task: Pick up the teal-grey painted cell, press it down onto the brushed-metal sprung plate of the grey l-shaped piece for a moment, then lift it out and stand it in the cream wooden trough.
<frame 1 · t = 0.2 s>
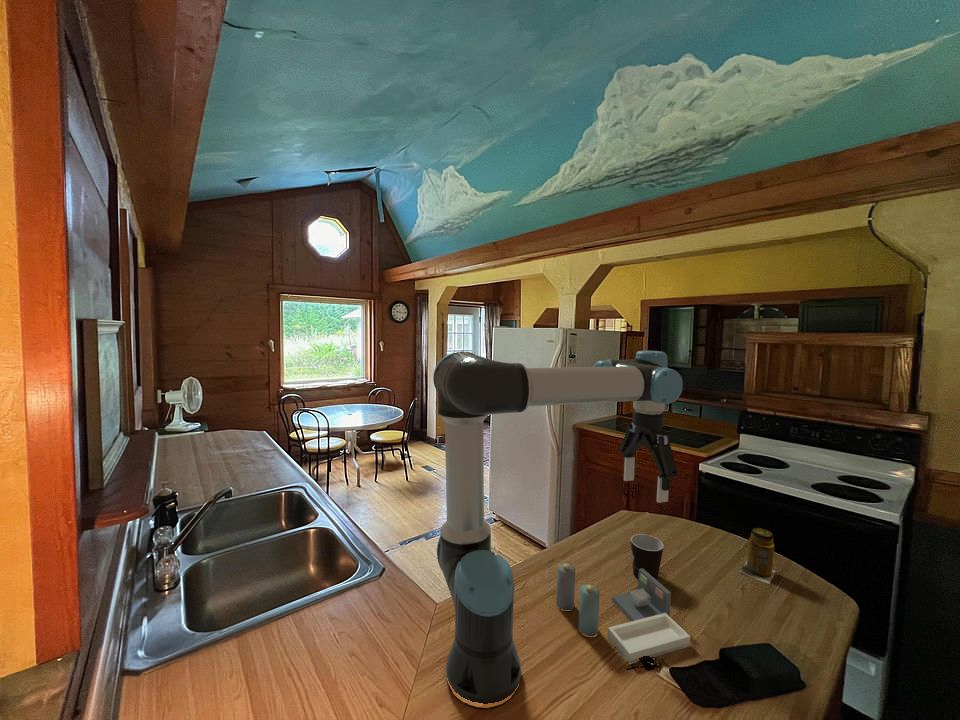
hand: (644, 490, 108), 27 cm above the counter, fingers open, 13 cm apart
cell 2: (565, 605, 104), on the counter
grey l-shaped piece: (639, 610, 103), on the counter
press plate: (640, 597, 102), point 3 cm above the counter, slide at 0.0 cm
coffee mug: (646, 573, 118), on the counter
condiment: (757, 573, 118), on the counter
trough: (648, 642, 93), on the counter
cell 1: (588, 630, 96), on the counter
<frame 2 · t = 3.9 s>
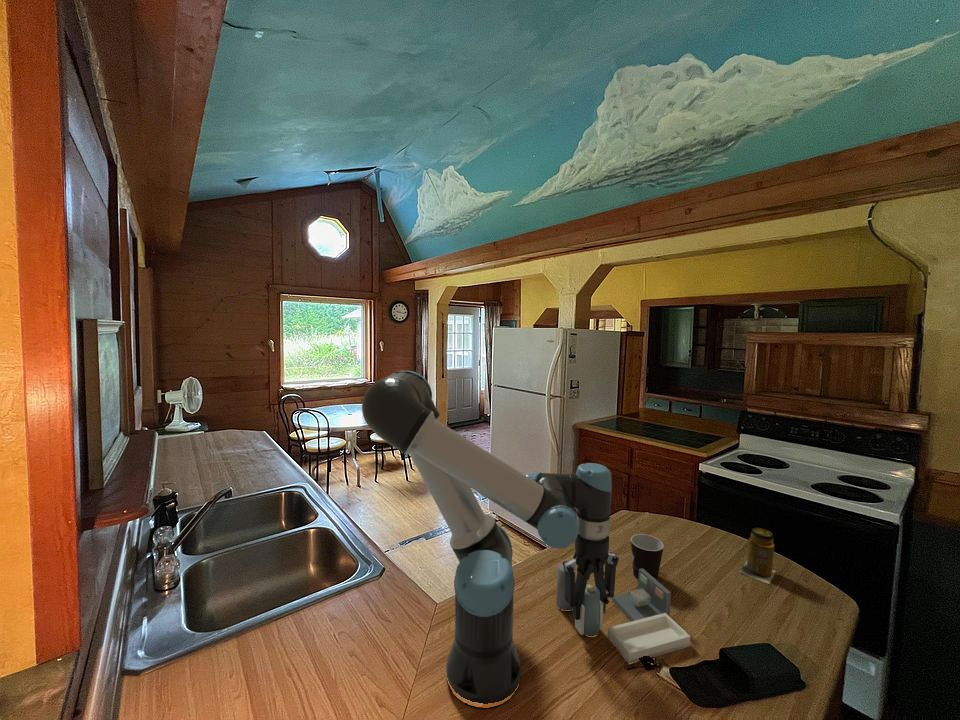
hand: (588, 627, 96), 1 cm above the counter, fingers closed on cell 1, 4 cm apart
cell 1: (588, 630, 96), on the counter, touching gripper
everything else where it was.
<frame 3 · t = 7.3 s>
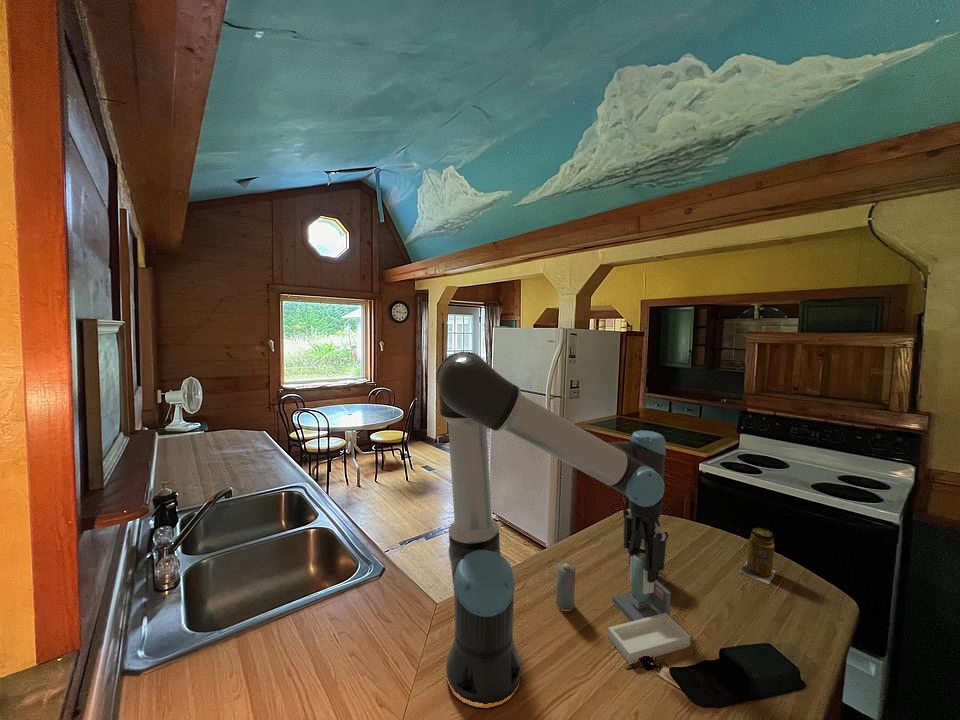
hand: (641, 585, 102), 7 cm above the counter, fingers closed on cell 1, 4 cm apart
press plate: (640, 599, 102), point 3 cm above the counter, slide at 0.6 cm
cell 1: (640, 595, 102), point 4 cm above the counter, touching gripper
everything else where it was.
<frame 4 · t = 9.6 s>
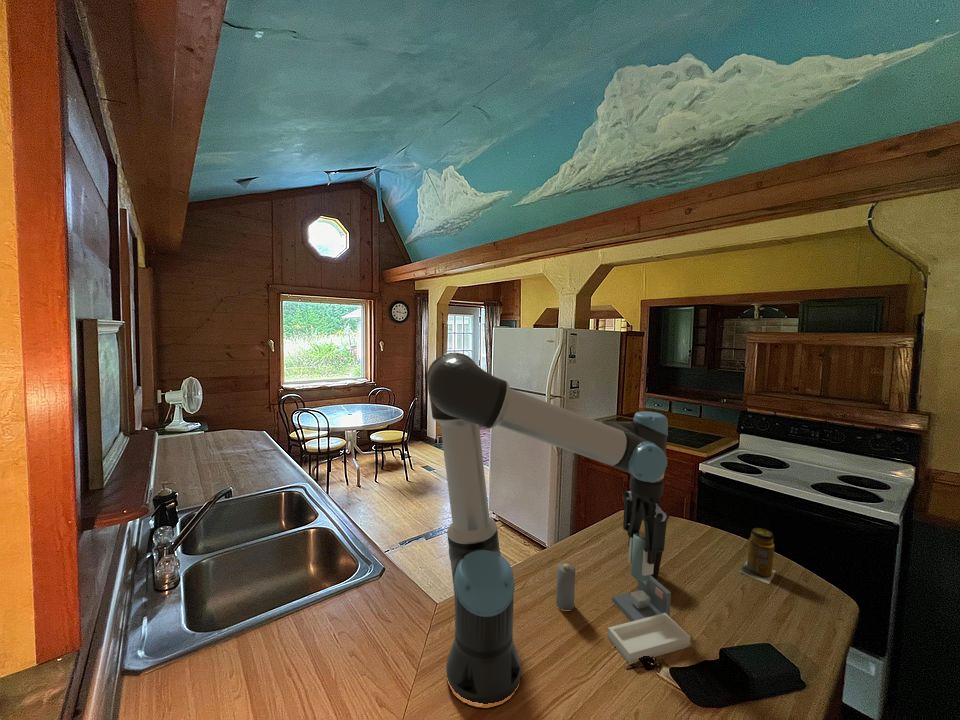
hand: (640, 567, 101), 11 cm above the counter, fingers closed on cell 1, 4 cm apart
cell 1: (640, 575, 102), point 9 cm above the counter, touching gripper
everything else where it was.
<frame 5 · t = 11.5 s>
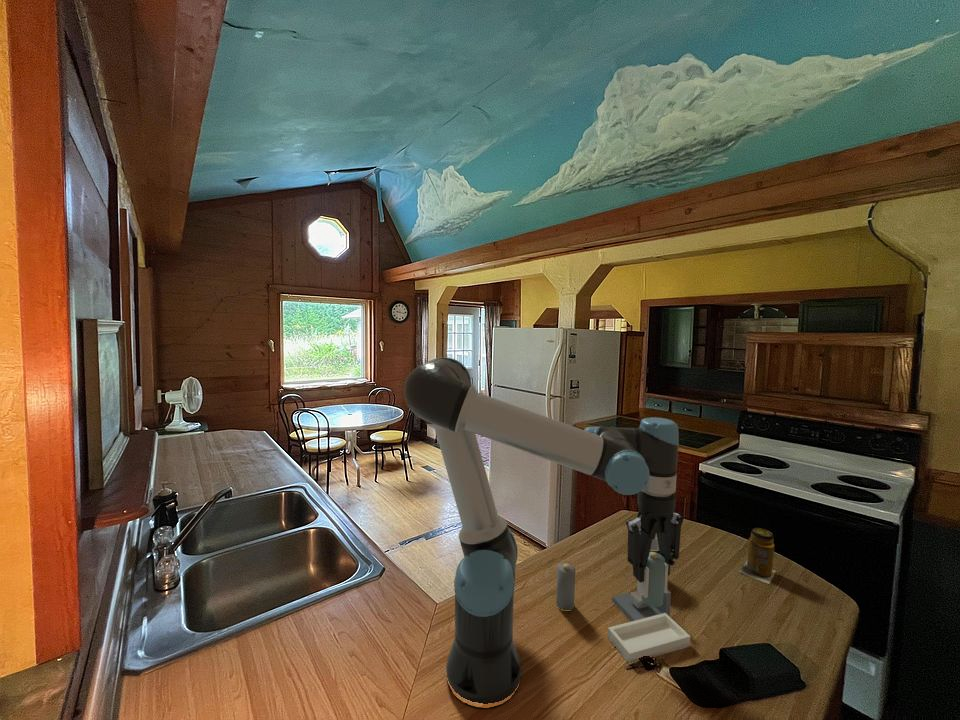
hand: (651, 591, 91), 12 cm above the counter, fingers closed on cell 1, 4 cm apart
cell 1: (652, 600, 91), point 10 cm above the counter, touching gripper
everything else where it was.
when the fingers open (3 cm above the counter, at t = 13.0 s): cell 1 stays where it is, resting on trough.
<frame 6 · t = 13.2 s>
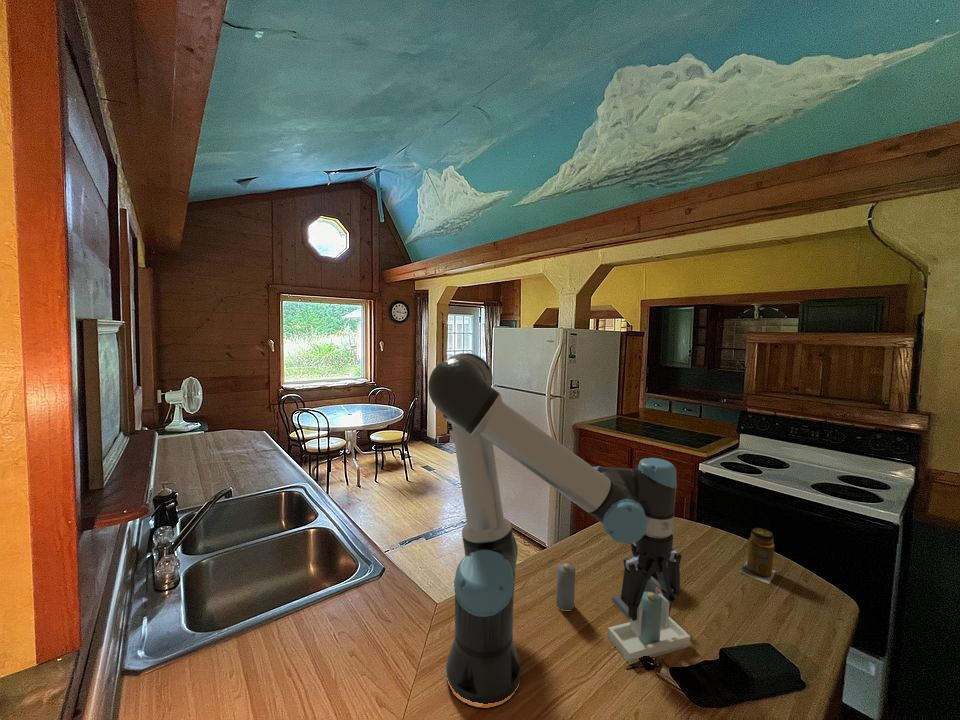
hand: (648, 627, 92), 3 cm above the counter, fingers open, 7 cm apart
cell 1: (648, 639, 92), point 1 cm above the counter, touching trough
everything else where it was.
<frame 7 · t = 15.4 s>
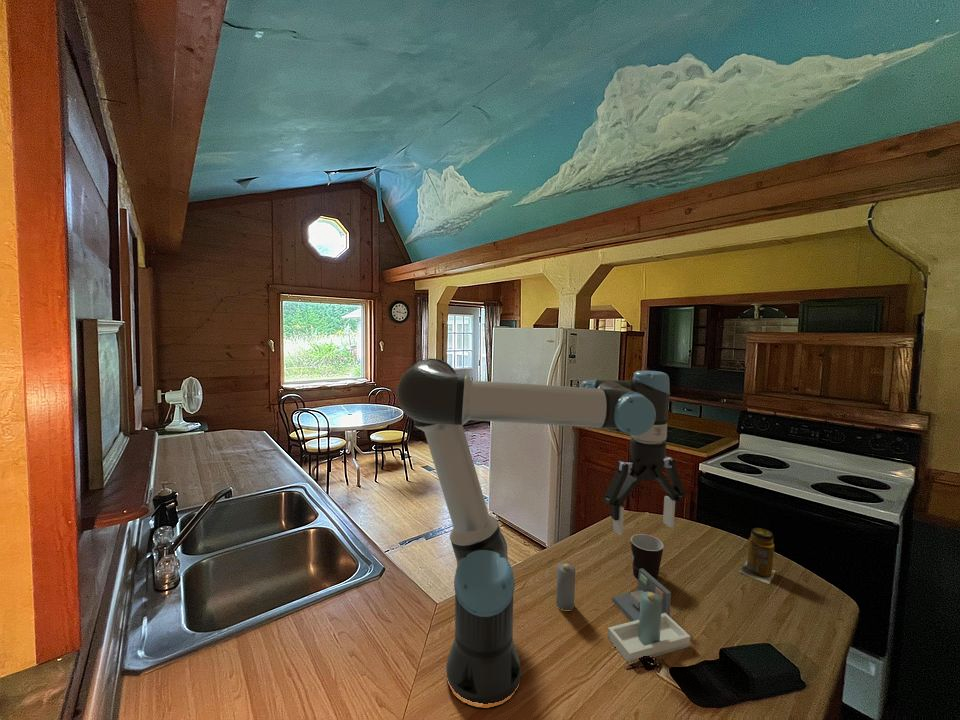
hand: (643, 528, 95), 24 cm above the counter, fingers open, 13 cm apart
nothing on the counter moved.
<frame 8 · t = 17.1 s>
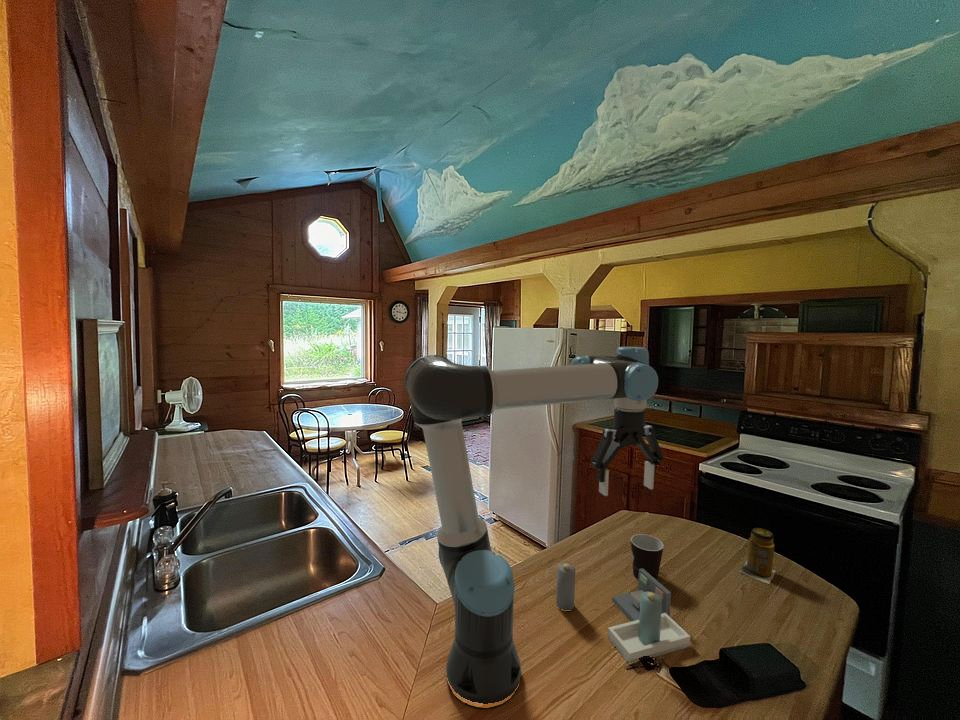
hand: (626, 490, 105), 29 cm above the counter, fingers open, 13 cm apart
nothing on the counter moved.
at the end: cell 1 inside the target area on the trough (0.2 cm from its centre), point 0.8 cm above the trough's base; the gripper is holding nothing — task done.
